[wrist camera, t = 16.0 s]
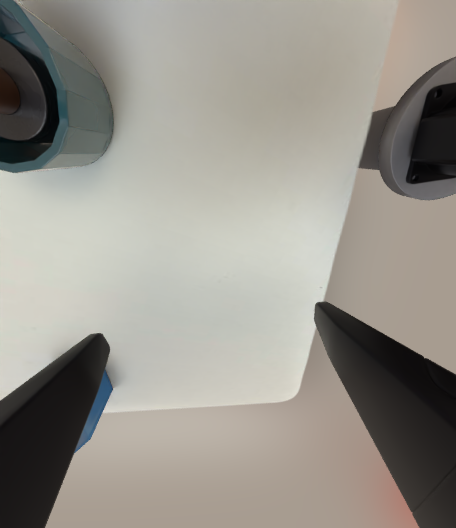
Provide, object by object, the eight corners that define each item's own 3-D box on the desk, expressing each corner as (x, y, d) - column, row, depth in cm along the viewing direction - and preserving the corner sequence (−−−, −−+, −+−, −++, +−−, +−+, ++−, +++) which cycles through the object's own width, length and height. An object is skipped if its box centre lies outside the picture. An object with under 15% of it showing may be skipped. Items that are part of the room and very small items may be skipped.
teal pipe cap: (82, 16, 13) (4, -65, 8) (129, 158, 17) (94, 160, 12) (-40, 38, 13) (-187, -28, 9) (33, 174, 17) (-39, 181, 12)
